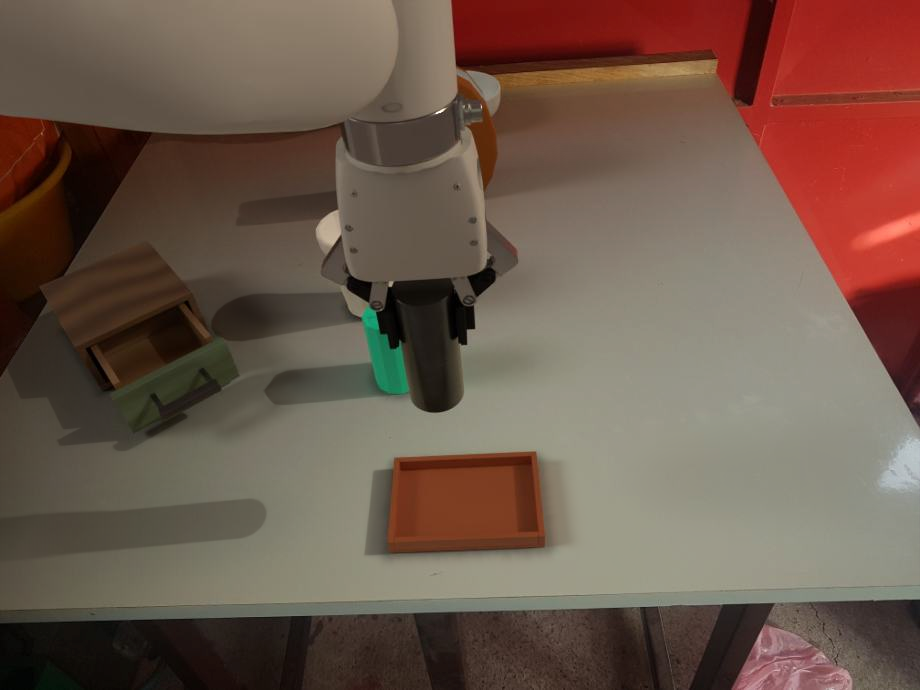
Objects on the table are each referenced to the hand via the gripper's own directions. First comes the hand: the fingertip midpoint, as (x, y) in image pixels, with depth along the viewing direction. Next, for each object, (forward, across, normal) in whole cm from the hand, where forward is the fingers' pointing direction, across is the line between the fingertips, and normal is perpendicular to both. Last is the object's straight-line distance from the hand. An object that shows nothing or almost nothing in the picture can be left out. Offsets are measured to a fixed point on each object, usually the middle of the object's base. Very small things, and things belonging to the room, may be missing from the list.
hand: (429, 333), depth 56 cm
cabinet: (+23, +43, -29) cm, 57 cm away
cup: (+24, +11, -32) cm, 41 cm away
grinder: (+7, 0, 0) cm, 7 cm away
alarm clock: (+24, +4, -61) cm, 66 cm away
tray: (+23, -2, +1) cm, 23 cm away
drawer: (+22, +35, -18) cm, 45 cm away
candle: (+24, +6, -18) cm, 30 cm away
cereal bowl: (+24, -1, -86) cm, 89 cm away
